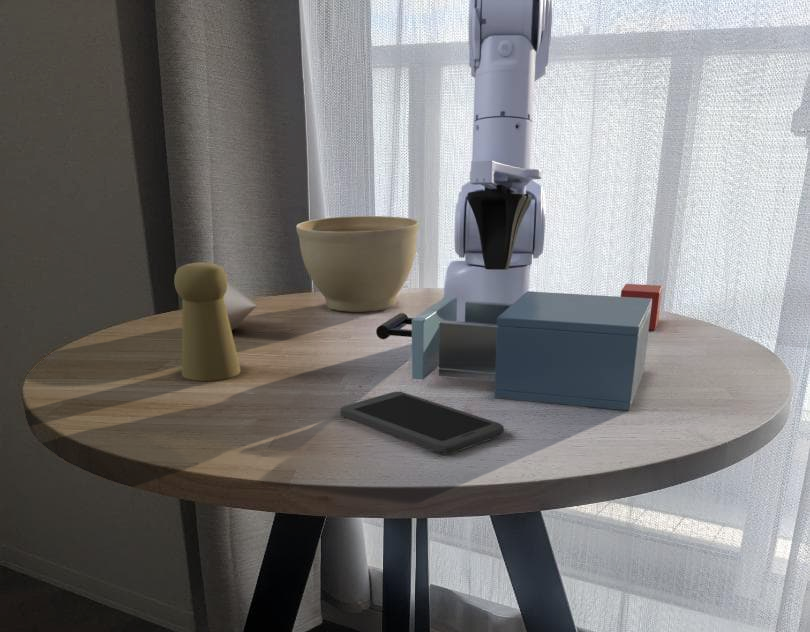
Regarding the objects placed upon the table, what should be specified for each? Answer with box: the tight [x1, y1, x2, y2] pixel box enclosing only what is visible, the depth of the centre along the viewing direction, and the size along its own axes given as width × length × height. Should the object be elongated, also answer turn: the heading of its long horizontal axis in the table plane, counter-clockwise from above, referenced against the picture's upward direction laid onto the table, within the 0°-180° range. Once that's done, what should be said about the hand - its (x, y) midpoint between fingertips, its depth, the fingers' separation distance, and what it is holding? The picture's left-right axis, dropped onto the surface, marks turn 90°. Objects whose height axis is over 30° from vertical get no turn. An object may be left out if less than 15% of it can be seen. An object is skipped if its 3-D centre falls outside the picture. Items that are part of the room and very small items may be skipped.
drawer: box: [375, 296, 512, 382], centre depth 87 cm, size 16×11×6 cm
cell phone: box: [339, 390, 505, 454], centre depth 75 cm, size 7×14×1 cm, turn 42°
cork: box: [173, 261, 241, 382], centre depth 88 cm, size 6×6×11 cm
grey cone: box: [224, 281, 257, 331], centre depth 105 cm, size 6×6×15 cm
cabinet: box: [494, 290, 652, 411], centre depth 84 cm, size 13×13×8 cm
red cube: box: [620, 283, 663, 331], centre depth 107 cm, size 4×4×4 cm
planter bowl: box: [295, 215, 420, 313], centre depth 117 cm, size 16×16×11 cm
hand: (496, 269), depth 88 cm, fingers closed
